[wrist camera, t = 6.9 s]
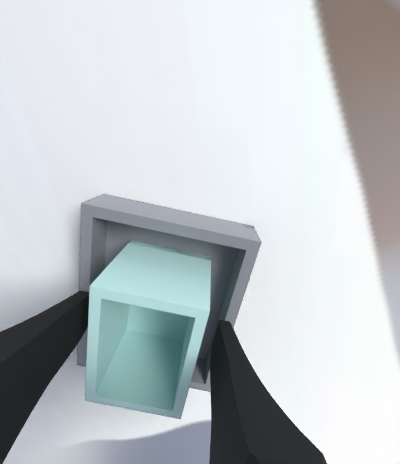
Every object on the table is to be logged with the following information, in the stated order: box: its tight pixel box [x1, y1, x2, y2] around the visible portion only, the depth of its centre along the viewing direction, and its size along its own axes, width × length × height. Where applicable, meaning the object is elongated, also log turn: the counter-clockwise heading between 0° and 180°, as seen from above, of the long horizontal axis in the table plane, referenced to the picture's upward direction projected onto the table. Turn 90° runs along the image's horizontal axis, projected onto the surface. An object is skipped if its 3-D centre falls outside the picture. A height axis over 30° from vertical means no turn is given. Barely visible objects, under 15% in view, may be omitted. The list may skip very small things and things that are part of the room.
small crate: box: [85, 240, 211, 419], centre depth 13 cm, size 5×7×5 cm
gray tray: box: [77, 194, 261, 392], centre depth 15 cm, size 9×11×2 cm
